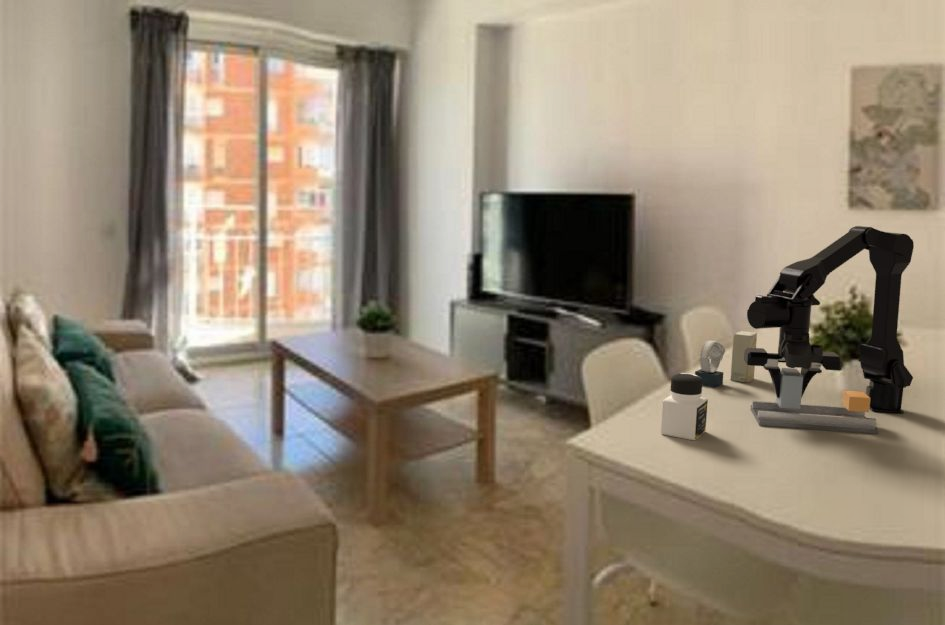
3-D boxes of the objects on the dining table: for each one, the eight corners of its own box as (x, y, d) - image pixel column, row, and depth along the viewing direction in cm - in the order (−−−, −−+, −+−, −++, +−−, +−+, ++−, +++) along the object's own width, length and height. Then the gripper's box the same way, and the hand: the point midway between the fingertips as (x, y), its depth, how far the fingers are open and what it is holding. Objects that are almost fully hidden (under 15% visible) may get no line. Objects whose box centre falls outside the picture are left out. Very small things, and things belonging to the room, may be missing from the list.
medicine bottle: (695, 441, 155) (699, 381, 153) (660, 434, 159) (663, 376, 157) (705, 431, 161) (709, 374, 159) (671, 425, 165) (675, 369, 163)
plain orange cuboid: (862, 405, 169) (863, 391, 169) (869, 412, 164) (870, 398, 164) (842, 404, 170) (843, 390, 170) (848, 410, 165) (849, 396, 165)
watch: (725, 382, 200) (728, 340, 198) (712, 389, 194) (715, 345, 192) (704, 379, 204) (707, 337, 202) (690, 384, 198) (693, 341, 196)
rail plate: (860, 416, 173) (861, 405, 173) (877, 434, 161) (878, 422, 161) (750, 409, 177) (751, 398, 177) (759, 425, 166) (760, 413, 165)
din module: (795, 402, 172) (798, 368, 171) (800, 408, 167) (803, 373, 166) (775, 401, 173) (778, 367, 171) (780, 407, 168) (783, 372, 166)
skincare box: (746, 383, 200) (750, 336, 198) (729, 380, 203) (732, 333, 201) (754, 378, 205) (758, 332, 203) (737, 375, 208) (740, 330, 206)
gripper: (754, 331, 161) (748, 405, 163) (852, 336, 157) (845, 412, 160) (746, 321, 172) (740, 391, 174) (838, 326, 168) (831, 397, 171)
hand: (788, 398), depth 170 cm, fingers closed on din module, 4 cm apart
